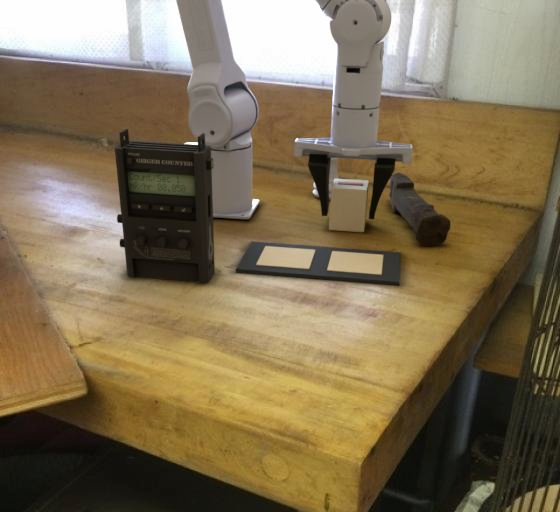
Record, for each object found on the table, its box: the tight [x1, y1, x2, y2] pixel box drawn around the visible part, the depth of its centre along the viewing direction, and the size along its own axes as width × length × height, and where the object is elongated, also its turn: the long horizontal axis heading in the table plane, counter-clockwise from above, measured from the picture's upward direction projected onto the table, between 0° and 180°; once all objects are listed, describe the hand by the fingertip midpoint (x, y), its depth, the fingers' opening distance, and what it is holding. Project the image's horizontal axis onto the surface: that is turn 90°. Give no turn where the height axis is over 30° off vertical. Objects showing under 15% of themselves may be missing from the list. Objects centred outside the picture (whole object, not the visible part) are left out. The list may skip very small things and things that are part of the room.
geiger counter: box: [114, 128, 216, 285], centre depth 72 cm, size 10×4×15 cm, turn 80°
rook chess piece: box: [312, 158, 341, 200], centre depth 101 cm, size 4×4×8 cm
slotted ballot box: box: [328, 178, 370, 233], centre depth 90 cm, size 4×4×6 cm
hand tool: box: [389, 172, 451, 247], centre depth 92 cm, size 19×4×5 cm, turn 5°
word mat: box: [235, 241, 402, 286], centre depth 80 cm, size 18×9×1 cm, turn 81°
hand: (348, 215), depth 91 cm, fingers open, 5 cm apart
